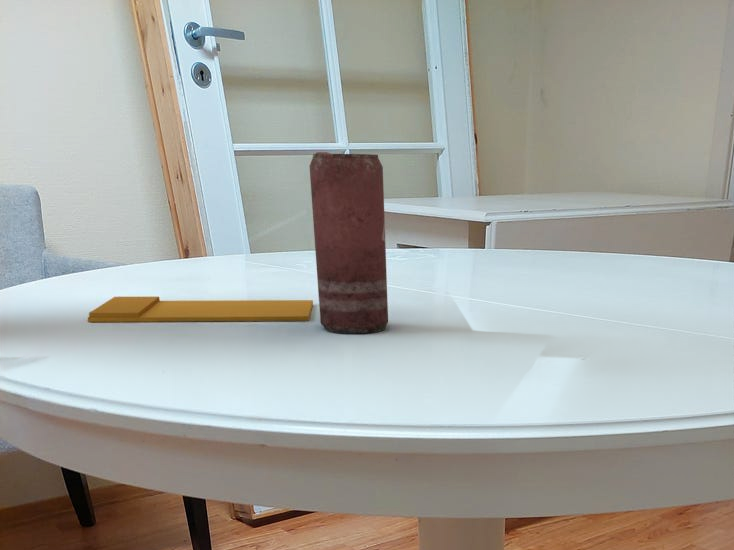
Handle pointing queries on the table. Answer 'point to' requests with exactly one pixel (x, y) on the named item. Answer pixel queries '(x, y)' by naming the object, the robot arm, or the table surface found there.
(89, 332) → the table surface
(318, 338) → the table surface
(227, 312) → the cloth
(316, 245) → the can
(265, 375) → the table surface
